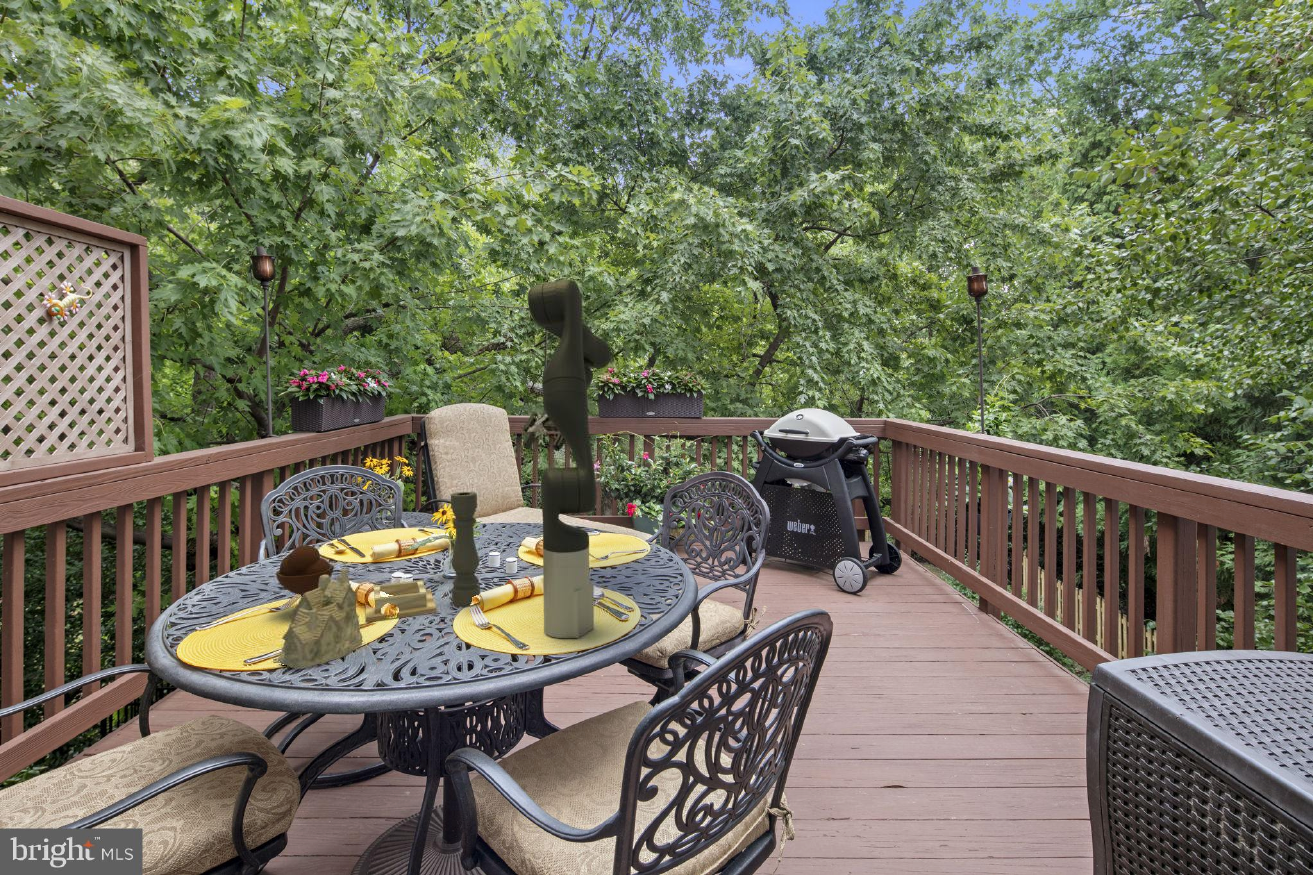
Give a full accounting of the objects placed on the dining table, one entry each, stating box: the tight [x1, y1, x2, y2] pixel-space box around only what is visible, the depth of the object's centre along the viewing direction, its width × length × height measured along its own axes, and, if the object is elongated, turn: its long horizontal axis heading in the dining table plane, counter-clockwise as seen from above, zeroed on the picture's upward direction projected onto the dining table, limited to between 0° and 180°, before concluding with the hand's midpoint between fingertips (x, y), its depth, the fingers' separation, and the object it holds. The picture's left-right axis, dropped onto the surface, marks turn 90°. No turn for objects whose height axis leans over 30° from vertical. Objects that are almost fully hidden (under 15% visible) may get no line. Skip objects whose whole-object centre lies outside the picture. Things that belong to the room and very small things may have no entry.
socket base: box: [365, 579, 437, 623], centre depth 144 cm, size 14×14×4 cm
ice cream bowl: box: [275, 544, 335, 598], centre depth 140 cm, size 11×11×15 cm
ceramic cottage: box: [277, 568, 364, 670], centre depth 121 cm, size 16×16×15 cm
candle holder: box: [450, 491, 481, 608], centre depth 146 cm, size 6×6×25 cm
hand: (540, 448), depth 152 cm, fingers open, 8 cm apart
